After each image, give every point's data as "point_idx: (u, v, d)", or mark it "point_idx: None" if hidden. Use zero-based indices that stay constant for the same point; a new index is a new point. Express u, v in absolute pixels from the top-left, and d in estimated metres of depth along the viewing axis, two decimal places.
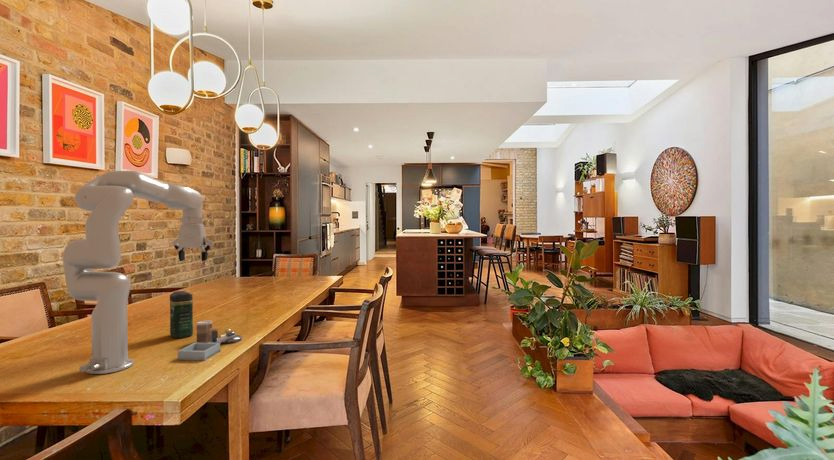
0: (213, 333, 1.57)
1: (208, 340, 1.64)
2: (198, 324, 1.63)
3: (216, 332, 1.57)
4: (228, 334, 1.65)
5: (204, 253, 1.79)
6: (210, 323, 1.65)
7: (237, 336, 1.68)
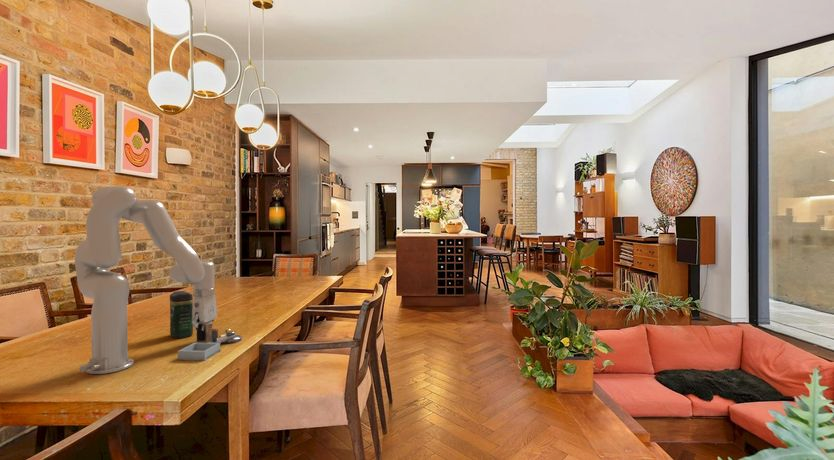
0: (213, 333, 1.57)
1: (208, 340, 1.64)
2: None
3: (216, 332, 1.57)
4: (228, 334, 1.65)
5: None
6: (210, 323, 1.65)
7: (237, 336, 1.68)
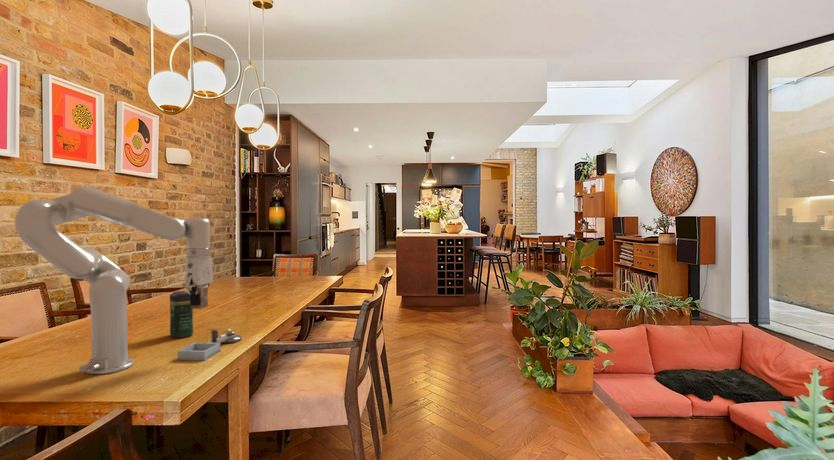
0: (213, 333, 1.57)
1: (203, 305, 1.47)
2: None
3: (216, 332, 1.57)
4: (228, 334, 1.65)
5: None
6: (205, 287, 1.49)
7: (237, 336, 1.68)
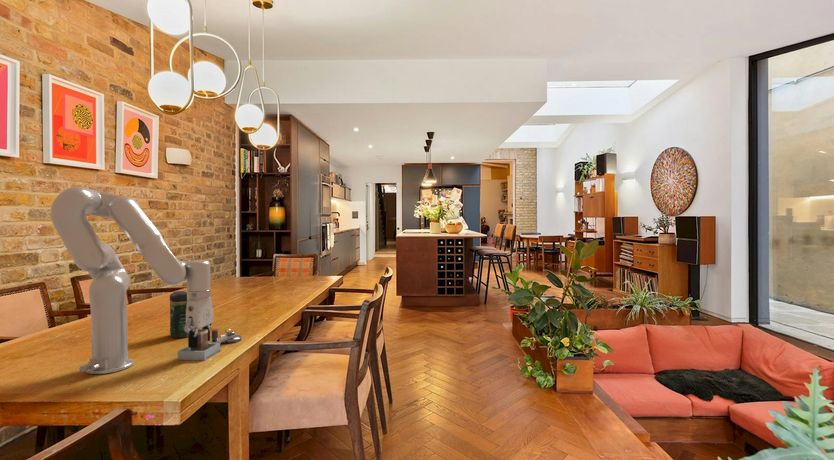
0: (213, 333, 1.57)
1: None
2: None
3: (216, 332, 1.57)
4: (228, 334, 1.65)
5: None
6: (205, 332, 1.49)
7: (237, 336, 1.68)
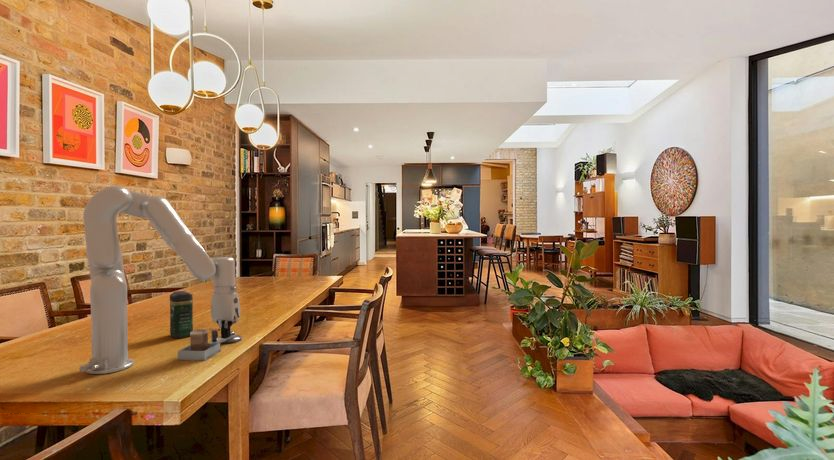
0: (213, 333, 1.57)
1: None
2: (192, 334, 1.47)
3: (216, 332, 1.57)
4: None
5: None
6: (205, 332, 1.49)
7: (237, 336, 1.68)
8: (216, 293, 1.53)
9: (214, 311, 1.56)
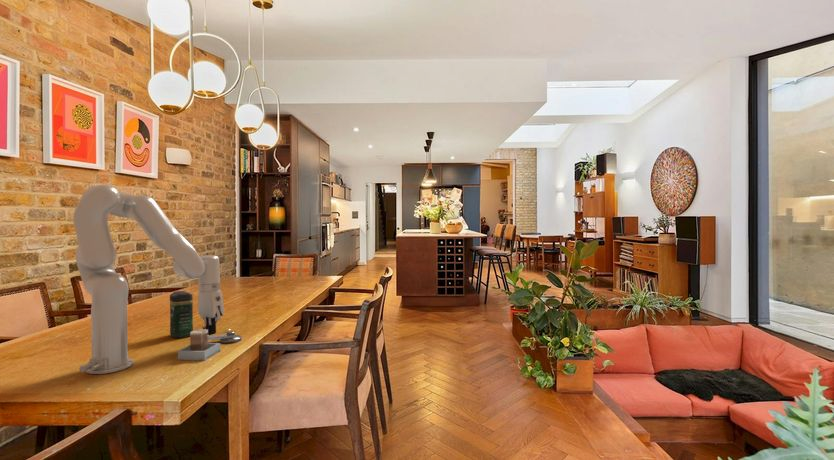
0: None
1: None
2: (192, 334, 1.47)
3: (204, 328, 1.62)
4: None
5: None
6: (205, 332, 1.49)
7: (237, 336, 1.68)
8: (199, 290, 1.57)
9: (200, 308, 1.60)
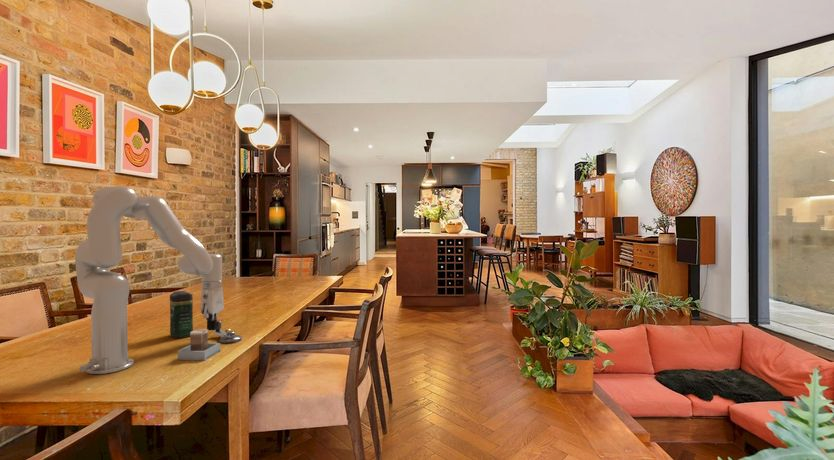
0: None
1: None
2: (192, 334, 1.47)
3: None
4: None
5: None
6: (205, 332, 1.49)
7: (237, 336, 1.68)
8: None
9: None
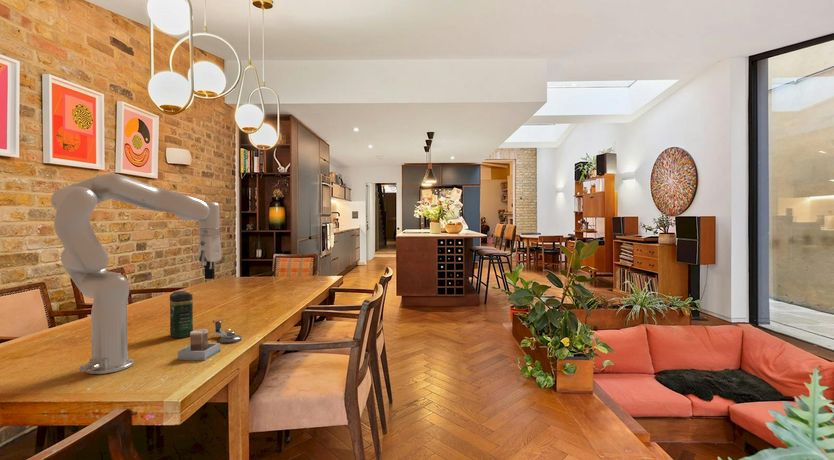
0: None
1: None
2: (192, 334, 1.47)
3: (215, 323, 1.71)
4: None
5: None
6: (205, 332, 1.49)
7: (237, 336, 1.68)
8: None
9: None
